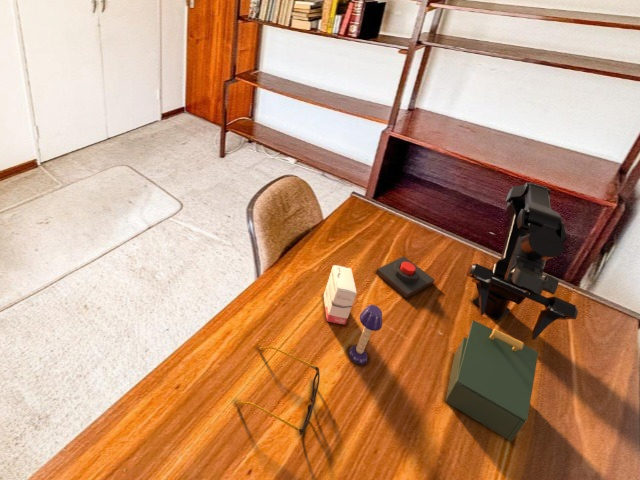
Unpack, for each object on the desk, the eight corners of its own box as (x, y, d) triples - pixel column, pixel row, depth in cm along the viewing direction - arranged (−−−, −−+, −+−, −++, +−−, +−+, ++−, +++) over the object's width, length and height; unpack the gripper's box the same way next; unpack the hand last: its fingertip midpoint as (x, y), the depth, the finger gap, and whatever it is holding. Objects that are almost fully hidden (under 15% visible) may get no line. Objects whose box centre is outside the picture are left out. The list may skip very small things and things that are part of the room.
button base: (402, 260, 122) (405, 251, 121) (432, 283, 114) (436, 275, 113) (375, 273, 117) (378, 264, 116) (406, 298, 109) (409, 289, 108)
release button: (405, 264, 117) (407, 260, 116) (416, 273, 114) (418, 268, 113) (397, 268, 115) (399, 263, 114) (408, 277, 112) (410, 272, 112)
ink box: (347, 326, 101) (357, 293, 96) (326, 322, 102) (336, 289, 97) (342, 298, 109) (351, 266, 104) (323, 294, 110) (331, 263, 104)
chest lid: (472, 321, 90) (477, 313, 87) (536, 353, 83) (545, 346, 80) (456, 381, 82) (461, 375, 79) (525, 421, 76) (534, 417, 73)
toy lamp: (371, 366, 92) (390, 318, 84) (352, 367, 91) (369, 319, 84) (362, 347, 96) (379, 299, 89) (343, 348, 96) (359, 300, 88)
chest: (454, 355, 95) (464, 336, 92) (513, 387, 88) (526, 368, 86) (445, 401, 85) (455, 382, 82) (511, 442, 79) (525, 422, 76)
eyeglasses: (304, 444, 77) (307, 433, 75) (235, 404, 83) (237, 393, 82) (319, 380, 88) (323, 369, 87) (258, 348, 95) (260, 337, 93)
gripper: (485, 236, 89) (462, 302, 86) (598, 279, 79) (576, 356, 76) (476, 243, 98) (455, 303, 95) (576, 283, 88) (556, 352, 85)
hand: (506, 326), depth 87 cm, fingers open, 9 cm apart
